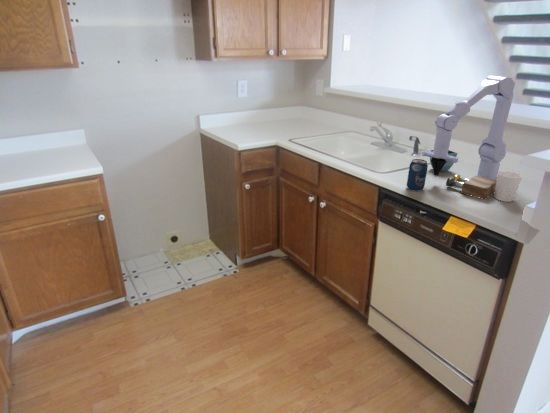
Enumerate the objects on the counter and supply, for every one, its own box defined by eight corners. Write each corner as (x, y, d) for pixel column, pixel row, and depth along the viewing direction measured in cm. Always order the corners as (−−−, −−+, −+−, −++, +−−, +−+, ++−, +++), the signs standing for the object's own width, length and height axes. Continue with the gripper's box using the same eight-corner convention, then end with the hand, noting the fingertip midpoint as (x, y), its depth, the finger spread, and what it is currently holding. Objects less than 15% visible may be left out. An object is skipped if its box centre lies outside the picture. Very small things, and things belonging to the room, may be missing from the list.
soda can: (417, 193, 154) (421, 164, 150) (402, 188, 160) (406, 160, 155) (427, 189, 158) (432, 161, 153) (412, 184, 163) (417, 157, 159)
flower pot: (440, 166, 188) (444, 148, 184) (454, 171, 180) (458, 152, 177) (426, 168, 185) (429, 149, 181) (439, 173, 177) (443, 154, 174)
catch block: (473, 185, 162) (475, 175, 161) (496, 191, 156) (498, 180, 155) (461, 193, 154) (463, 182, 152) (484, 199, 148) (487, 188, 146)
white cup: (507, 194, 153) (513, 171, 149) (519, 202, 146) (526, 177, 142) (488, 194, 153) (493, 171, 149) (499, 202, 145) (505, 177, 141)
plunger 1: (449, 184, 162) (450, 176, 161) (472, 190, 156) (474, 182, 154) (445, 186, 160) (446, 178, 158) (469, 193, 153) (471, 184, 152)
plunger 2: (454, 181, 166) (456, 173, 164) (478, 187, 159) (480, 179, 158) (451, 183, 164) (453, 175, 162) (475, 189, 157) (477, 181, 156)
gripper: (420, 142, 160) (415, 173, 165) (455, 149, 150) (449, 181, 156) (428, 139, 164) (423, 169, 170) (462, 146, 155) (456, 177, 160)
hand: (436, 175), depth 163 cm, fingers closed
